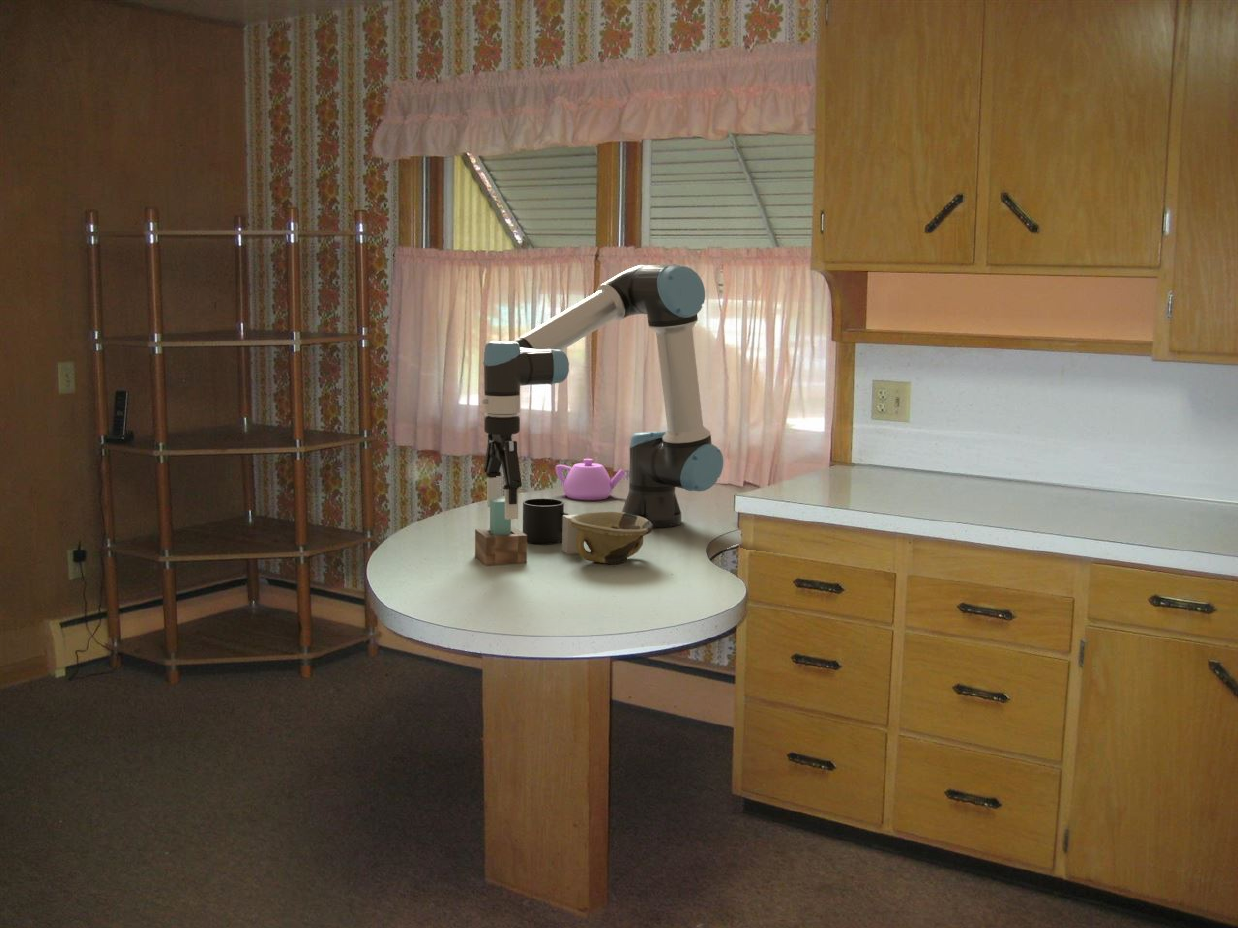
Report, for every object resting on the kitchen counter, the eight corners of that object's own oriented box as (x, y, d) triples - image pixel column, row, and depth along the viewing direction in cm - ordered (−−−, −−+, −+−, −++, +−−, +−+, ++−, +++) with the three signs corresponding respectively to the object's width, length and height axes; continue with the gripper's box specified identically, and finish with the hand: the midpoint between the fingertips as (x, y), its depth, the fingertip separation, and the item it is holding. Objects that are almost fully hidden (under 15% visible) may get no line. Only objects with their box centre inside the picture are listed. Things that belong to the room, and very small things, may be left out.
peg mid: (577, 549, 273) (577, 514, 271) (582, 552, 269) (583, 517, 268) (562, 550, 271) (562, 515, 270) (567, 553, 268) (567, 518, 267)
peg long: (505, 557, 263) (506, 498, 261) (510, 560, 260) (511, 501, 258) (489, 558, 262) (490, 499, 260) (494, 561, 259) (494, 502, 257)
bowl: (592, 574, 250) (593, 529, 248) (556, 555, 266) (557, 513, 264) (666, 567, 258) (667, 523, 257) (627, 549, 274) (628, 508, 272)
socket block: (514, 553, 267) (514, 526, 266) (526, 562, 259) (527, 535, 258) (475, 555, 264) (475, 529, 263) (486, 565, 255) (486, 537, 254)
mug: (565, 547, 274) (565, 508, 273) (516, 542, 278) (516, 504, 276) (579, 539, 283) (579, 501, 282) (531, 534, 286) (531, 497, 285)
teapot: (622, 503, 329) (623, 464, 327) (550, 499, 331) (551, 461, 330) (628, 494, 343) (629, 457, 341) (559, 490, 345) (560, 453, 343)
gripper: (469, 408, 266) (470, 502, 270) (501, 422, 243) (501, 525, 247) (502, 407, 269) (502, 500, 272) (537, 421, 246) (536, 523, 250)
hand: (502, 512), depth 260 cm, fingers open, 13 cm apart
